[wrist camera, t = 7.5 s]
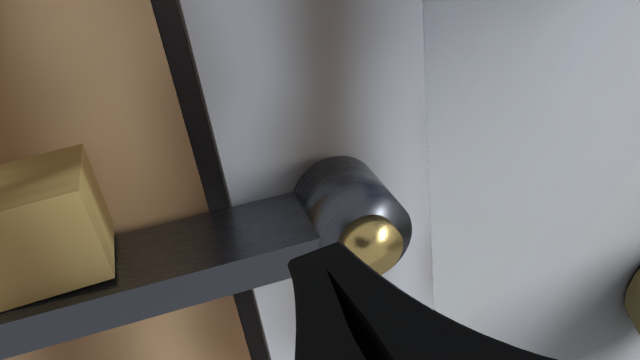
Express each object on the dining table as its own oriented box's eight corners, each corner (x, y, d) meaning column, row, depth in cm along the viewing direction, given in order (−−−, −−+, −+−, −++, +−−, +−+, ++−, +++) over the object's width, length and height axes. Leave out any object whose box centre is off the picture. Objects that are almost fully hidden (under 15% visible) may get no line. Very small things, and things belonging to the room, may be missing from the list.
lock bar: (373, 146, 20) (420, 196, 17) (377, 221, 22) (420, 278, 19) (-47, 246, 17) (-80, 328, 14) (-7, 324, 19) (-28, 412, 16)
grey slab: (391, -93, 19) (471, -81, 15) (418, 353, 30) (468, 432, 26) (-285, 34, 15) (-433, 99, 11) (33, 494, 26) (20, 613, 22)
